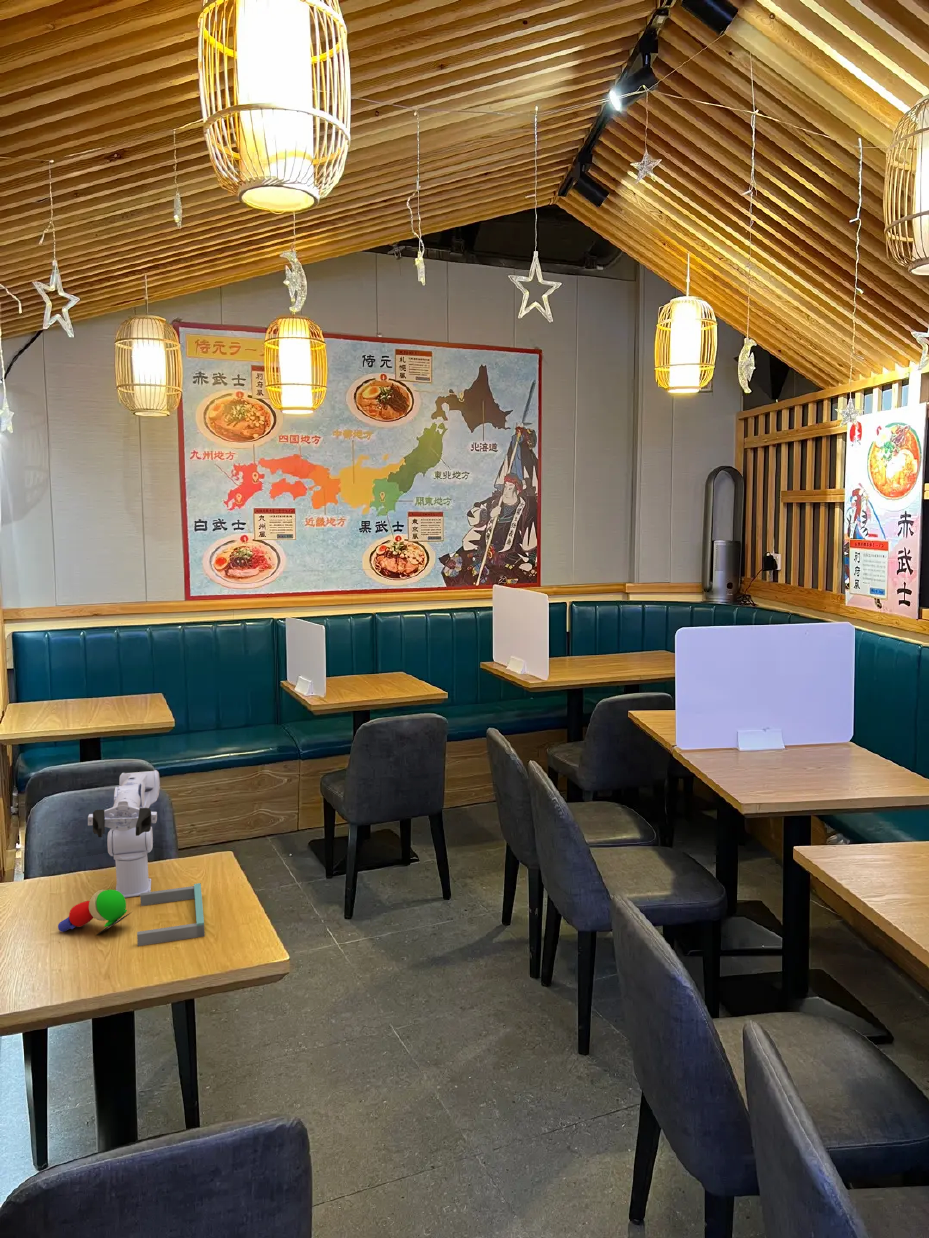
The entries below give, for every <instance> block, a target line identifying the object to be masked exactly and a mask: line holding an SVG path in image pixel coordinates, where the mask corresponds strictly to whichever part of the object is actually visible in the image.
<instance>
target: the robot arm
mask: <svg viewBox="0 0 929 1238" xmlns="http://www.w3.org/2000/svg"><path fill="white" fill-rule="evenodd" d="M118 781H119V783H118V784H119V785H118V786H115V788H114V792H113V806H112V807H110V808H107V809H95V810H94V811H93V812H92V813H89V814H88V816H87V826H92V832H93V834H94V835H97V836H98V838H102V837H103V835H105V834H106V828H109V831H108V832H107V837H106V838H107V841H106V842H107V853H108V854H109V856H110V857H113V860H115V874H116V886H115V890H116V891H119V892H120V893H121V894H122V895H123V896H124V898H125V899H126V898H132V897H138V896H139V897H140V893H146V892H152V891H151V890H152V889H151V888H152V878H149V863H148V853H150V852H151V851H153V846H154V845H153V843H154V841H153V840H154V838H153V836H154V835H153V826H152V824H156V823H157V820H158V812H157V811H152V810H151V809H150V807H151V805H152V804H154V803H156V802H157V801H158V798H159V794H160V789H161V788H160V786H161V784H160V783H161V782H160V773H159V771H158V770H157V769H154V770H150V771H149V770H148V771H139V772H138V771H136V772H122V773H121V774H120V775H119V780H118Z"/></svg>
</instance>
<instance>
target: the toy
mask: <svg viewBox="0 0 929 1238" xmlns="http://www.w3.org/2000/svg"><path fill="white" fill-rule="evenodd" d="M126 908H127V901H126V897H125V898H124V896H123V895H122V894H121V893H120V892H119V891H116V889H99V890H97V891H96V892H94V893H93V894H92V896H91V898H90V899H89V900H87V901H83V902H79V903H78V904H75V905H74V906H72V907H71V909H70V911H69V913H68V917H66V918H65V919H63V920H61V921H60V922H59V923H58V924H57V929H58V930H59V932H61V933H64V932H67V931H68V930H70V929H71V930H73V929H74V928H76V927H83V926H85V925H87V924H88V923H90V922H91V921H92V920H93V919H95V920H97V921H102V922H105V921H107V922H106V923H105V924H104V926H103V927H104V929H102V930H101V931H100V932H98V933H97V935H99V934H101V933H102V932H104V931H105V930H107V929H109V928H111V927H113V926H116V924H119V922H121V921H122V920H124V919H126V918H127V916H129V915H130V914H132V913H133V911H131V912H129V913H127V912H128V909H126ZM126 913H127V914H126ZM125 914H126V915H125ZM124 915H125V916H124Z"/></svg>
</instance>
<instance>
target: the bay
mask: <svg viewBox="0 0 929 1238" xmlns="http://www.w3.org/2000/svg"><path fill="white" fill-rule="evenodd" d="M139 898H140V907H143V906H151V905H152V906H153V905H159V904H166V903H172V902H173V903H174V902H179V901H180V902H181V901H187V900H194V907H195V908H194V909H195V920H196V922H195V923H189V924H182V925H174V926H169V927H167V926H166V927H161V928H160V927H159V928H153V929H148V930H141V931H137V932H136V939H137V941H136V942H137V947H142V946H149V945H157V944H161V943H169V942H175V941H180V940H181V941H182V940H188V939H189V940H190V939H194V938H195V939H196V938H201V937H205V935H206V934H205V920H204V919H205V918H204V916H205V915H204V907H203V906H204V905H203V895H202V885H201V883H199V882H198V883H194V884H193V885H191V886H183V887H175V888H169V889H168V888H167V889H164V890H163V889H162V890H154V891H151V892H146V893H140V896H139Z"/></svg>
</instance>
